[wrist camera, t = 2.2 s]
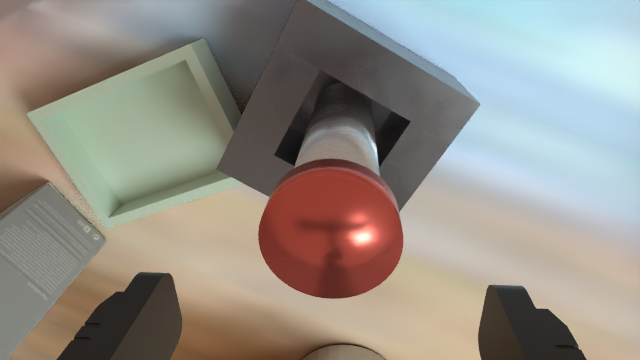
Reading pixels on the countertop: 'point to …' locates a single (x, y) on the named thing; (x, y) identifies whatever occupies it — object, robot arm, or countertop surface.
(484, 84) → the countertop surface
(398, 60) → the block
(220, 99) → the dish
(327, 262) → the pin
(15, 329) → the skincare box
